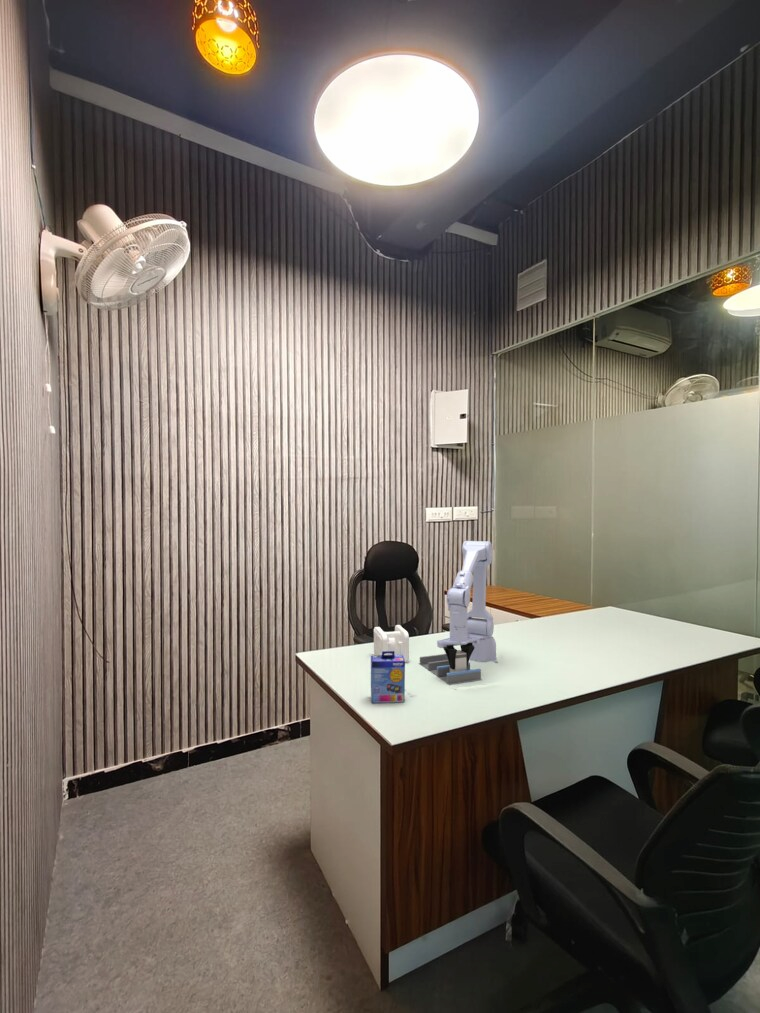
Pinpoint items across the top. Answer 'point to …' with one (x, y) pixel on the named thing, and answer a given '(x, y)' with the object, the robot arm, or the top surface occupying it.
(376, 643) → the cable organizer
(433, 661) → the grey slotted rack
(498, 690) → the top surface
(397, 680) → the ink cartridge box
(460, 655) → the beige block
